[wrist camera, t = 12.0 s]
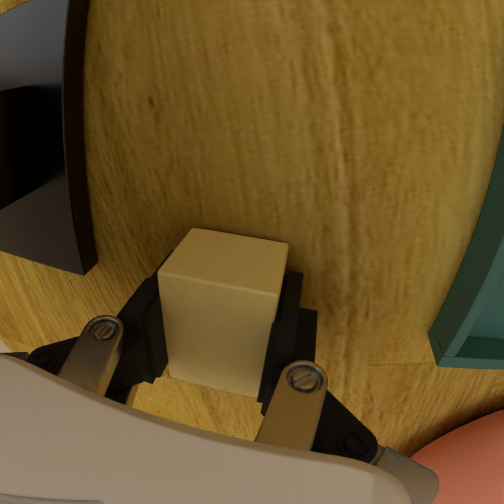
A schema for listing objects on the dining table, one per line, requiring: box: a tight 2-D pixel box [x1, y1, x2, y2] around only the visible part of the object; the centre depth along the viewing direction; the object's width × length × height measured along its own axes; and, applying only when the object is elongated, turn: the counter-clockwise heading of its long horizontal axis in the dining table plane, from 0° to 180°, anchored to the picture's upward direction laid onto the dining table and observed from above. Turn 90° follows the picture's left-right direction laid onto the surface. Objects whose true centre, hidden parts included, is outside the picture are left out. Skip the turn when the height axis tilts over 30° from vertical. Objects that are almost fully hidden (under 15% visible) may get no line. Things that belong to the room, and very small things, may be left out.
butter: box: [158, 228, 289, 398], centre depth 11 cm, size 5×4×3 cm
